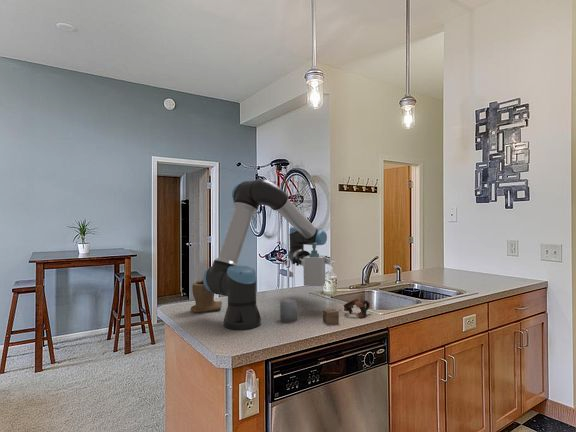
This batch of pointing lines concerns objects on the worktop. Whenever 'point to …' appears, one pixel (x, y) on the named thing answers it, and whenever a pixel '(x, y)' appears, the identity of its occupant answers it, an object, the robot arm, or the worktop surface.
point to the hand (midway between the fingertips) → (317, 262)
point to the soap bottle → (314, 268)
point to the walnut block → (330, 316)
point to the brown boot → (203, 298)
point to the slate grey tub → (288, 310)
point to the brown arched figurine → (359, 304)
